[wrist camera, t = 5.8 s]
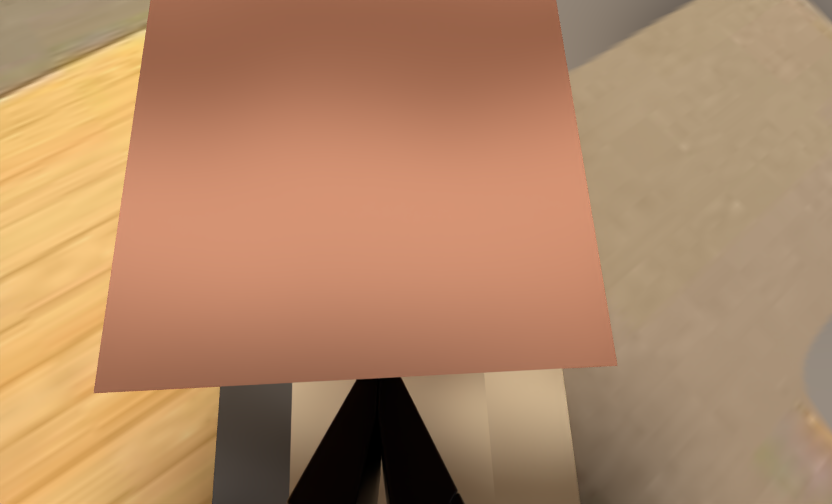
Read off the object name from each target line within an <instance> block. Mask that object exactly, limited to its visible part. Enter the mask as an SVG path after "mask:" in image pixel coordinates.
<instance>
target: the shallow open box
mask: <svg viewBox="0 0 832 504" xmlns="http://www.w3.org/2000/svg"><path fill="white" fill-rule="evenodd" d="M401 378H402V380H403V382H404V384H405V386H406V388H407V390H408V392H409V394H410V396H411V398H412V400H413V402H414V404H415V406H416V408H417V410H418V412H419V414H420V416H421V418H422V420H423V422H424V424H425V426H426V428H427V430H428V432H429V434H430V436H431V438H432V439H433V441H434V443H435V445H436V447H437V449H438V451H439V453H440V455H441V457H442V459H443V461H444V463H445V465H446V467H447V469H448V471H449V473H450V475H451V477H452V479H453V481H454V483H455V485H456V487H457V489H458V493H460V495H461V497H462V499H463V501H464V503H465V504H580V496H579V489H578V481H577V474H576V467H575V459H574V452H573V444H572V437H571V429H570V422H569V415H568V407H567V400H566V392H565V385H564V377H563V370H562V369H544V370H525V371H506V372H487V373H468V374H449V375H430V376H411V377H401ZM355 381H356V379H354V380H335V381H316V382H297V383H278V384H258V385H239V386H220V398H219V412H218V426H217V440H216V455H215V469H214V483H213V498H212V504H287V499H288V498H289V496H290V494H291V492H292V491H293V489H294V487H295V485H296V484H297V482H298V480H299V478H300V477H301V475H302V473H303V472H304V470H305V468H306V466H307V465H308V463H309V461H310V459H311V458H312V456H313V454H314V452H315V451H316V449H317V447H318V445H319V444H320V442H321V440H322V438H323V437H324V435H325V433H326V432H327V430H328V428H329V426H330V425H331V423H332V421H333V419H334V418H335V416H336V414H337V412H338V411H339V409H340V407H341V405H342V404H343V402H344V400H345V398H346V397H347V395H348V393H349V392H350V390H351V388H352V386H353V385H354V383H355ZM378 504H386V496H385V488H384V480H383V469H382V461H381V476H380V486H379V495H378Z"/></svg>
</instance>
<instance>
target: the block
mask: <svg viewBox="0 0 832 504" xmlns="http://www.w3.org/2000/svg"><path fill="white" fill-rule="evenodd" d="M601 366H617V360H616V354H615V348H614V343H613V337H612V331H611V325H610V319H609V313H608V307H607V301H606V295H605V289H604V283H603V277H602V271H601V265H600V259H599V253H598V247H597V241H596V235H595V229H594V223H593V217H592V212H591V206H590V200H589V194H588V188H587V182H586V176H585V170H584V164H583V158H582V152H581V146H580V140H579V134H578V128H577V122H576V116H575V110H574V104H573V98H572V92H571V86H570V80H569V75H568V69H567V63H566V57H565V51H564V45H563V39H562V34H561V27H560V21H559V16H558V9H557V3H556V0H151V1H150V8H149V15H148V21H147V28H146V35H145V42H144V49H143V56H142V63H141V70H140V77H139V84H138V91H137V97H136V104H135V111H134V118H133V125H132V132H131V139H130V146H129V153H128V160H127V167H126V173H125V180H124V187H123V194H122V201H121V208H120V215H119V222H118V229H117V236H116V243H115V249H114V256H113V263H112V270H111V277H110V284H109V291H108V298H107V305H106V312H105V319H104V325H103V332H102V339H101V346H100V353H99V360H98V367H97V374H96V381H95V388H94V393H106V392H125V391H144V390H163V389H182V388H201V387H220V386H239V385H258V384H278V383H297V382H316V381H335V380H354V379H373V378H392V377H411V376H430V375H449V374H468V373H487V372H506V371H525V370H544V369H563V368H582V367H601Z"/></svg>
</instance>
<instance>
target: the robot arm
mask: <svg viewBox="0 0 832 504" xmlns="http://www.w3.org/2000/svg"><path fill="white" fill-rule="evenodd" d="M381 461H382V469H383V480H384V488H385V496H386V504H465V503H464V501H463V499H462V497H461V495H460V493H458V489H457V487H456V485H455V483H454V481H453V479H452V477H451V475H450V473H449V471H448V469H447V467H446V465H445V463H444V461H443V459H442V457H441V455H440V453H439V451H438V449H437V447H436V445H435V443H434V441H433V439H432V438H431V436H430V434H429V432H428V430H427V428H426V426H425V424H424V422H423V420H422V418H421V416H420V414H419V412H418V410H417V408H416V406H415V404H414V402H413V400H412V398H411V396H410V394H409V392H408V390H407V388H406V386H405V384H404V382H403V380H402V378H401V377H392V378H373V379H356V381H355V383H354V385H353V386H352V388H351V390H350V392H349V393H348V395H347V397H346V398H345V400H344V402H343V404H342V405H341V407H340V409H339V411H338V412H337V414H336V416H335V418H334V419H333V421H332V423H331V425H330V426H329V428H328V430H327V432H326V433H325V435H324V437H323V438H322V440H321V442H320V444H319V445H318V447H317V449H316V451H315V452H314V454H313V456H312V458H311V459H310V461H309V463H308V465H307V466H306V468H305V470H304V472H303V473H302V475H301V477H300V478H299V480H298V482H297V484H296V485H295V487H294V489H293V491H292V492H291V494H290V496H289V498H288V499H287V504H378V495H379V486H380V476H381Z"/></svg>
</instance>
